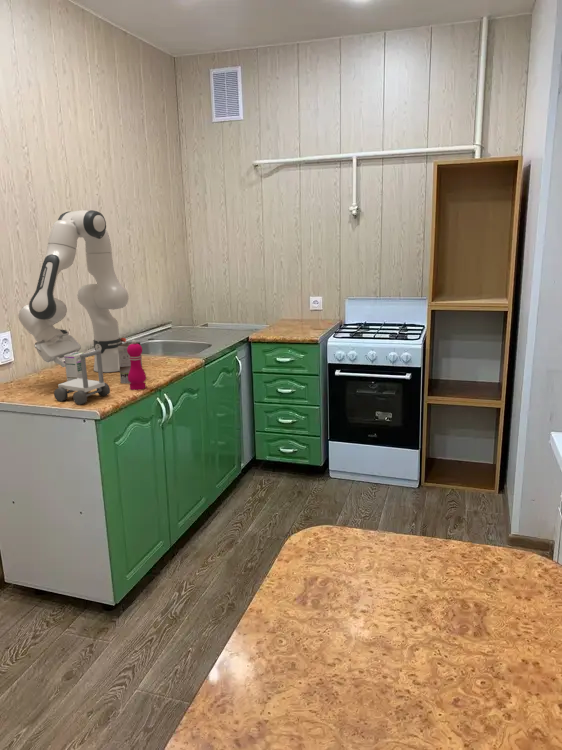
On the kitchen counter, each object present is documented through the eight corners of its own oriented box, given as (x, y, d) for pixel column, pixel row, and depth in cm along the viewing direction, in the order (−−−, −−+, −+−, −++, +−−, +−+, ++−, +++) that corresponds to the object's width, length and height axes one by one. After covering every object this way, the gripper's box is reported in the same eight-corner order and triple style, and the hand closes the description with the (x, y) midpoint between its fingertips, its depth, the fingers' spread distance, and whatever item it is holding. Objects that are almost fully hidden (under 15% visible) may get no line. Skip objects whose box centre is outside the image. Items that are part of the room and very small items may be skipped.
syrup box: (79, 390, 236) (75, 355, 232) (67, 389, 238) (63, 354, 234) (88, 386, 241) (84, 352, 237) (76, 385, 243) (73, 351, 239)
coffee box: (134, 383, 244) (131, 346, 240) (120, 383, 245) (116, 345, 241) (143, 378, 253) (140, 341, 249) (130, 377, 254) (126, 341, 250)
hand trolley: (82, 391, 234) (77, 345, 230) (110, 395, 228) (106, 348, 223) (54, 400, 222) (49, 352, 218) (83, 405, 216) (78, 356, 211)
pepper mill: (131, 385, 241) (127, 338, 236) (148, 385, 241) (145, 338, 236) (126, 390, 234) (122, 341, 229) (144, 390, 234) (140, 341, 229)
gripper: (36, 338, 227) (60, 364, 226) (69, 329, 246) (91, 353, 245) (28, 348, 229) (51, 374, 229) (61, 339, 248) (83, 362, 248)
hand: (72, 363), depth 237 cm, fingers open, 8 cm apart
